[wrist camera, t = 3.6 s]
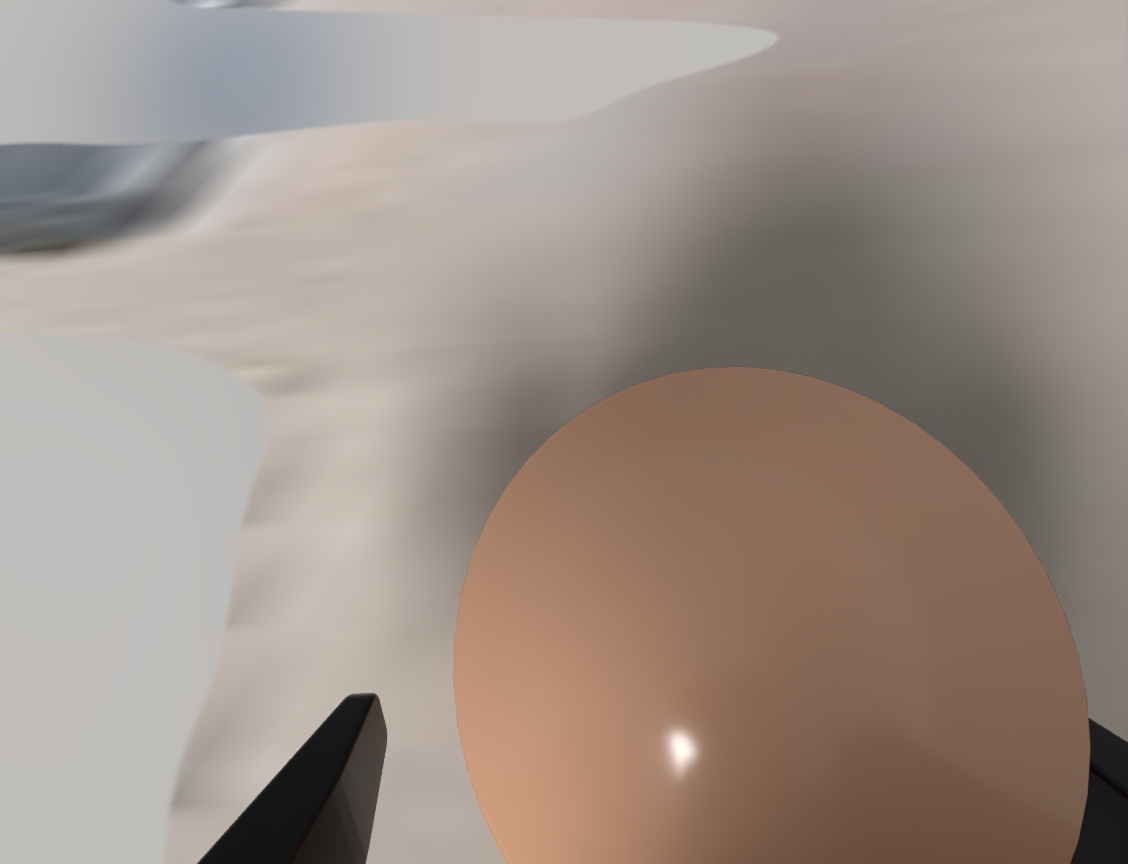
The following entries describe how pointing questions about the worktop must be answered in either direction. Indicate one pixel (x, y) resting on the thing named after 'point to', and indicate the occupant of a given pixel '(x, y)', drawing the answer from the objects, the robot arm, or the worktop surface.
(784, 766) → the canister
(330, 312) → the worktop surface
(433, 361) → the worktop surface
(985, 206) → the worktop surface
